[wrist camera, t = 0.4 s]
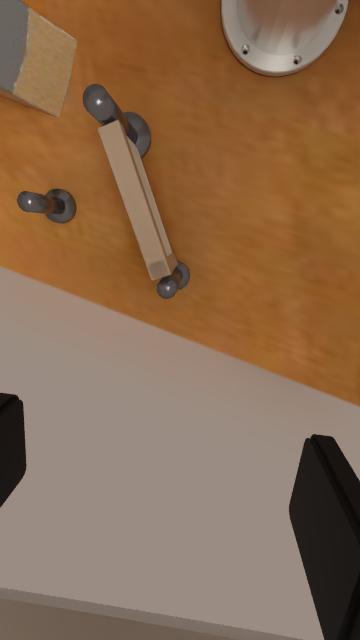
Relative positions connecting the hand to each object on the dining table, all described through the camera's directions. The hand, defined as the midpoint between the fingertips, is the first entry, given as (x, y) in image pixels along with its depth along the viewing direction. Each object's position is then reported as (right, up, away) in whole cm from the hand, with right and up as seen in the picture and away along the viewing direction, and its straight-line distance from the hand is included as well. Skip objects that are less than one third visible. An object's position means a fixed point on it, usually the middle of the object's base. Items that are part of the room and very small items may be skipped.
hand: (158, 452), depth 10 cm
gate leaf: (-3, +18, +28) cm, 33 cm away
